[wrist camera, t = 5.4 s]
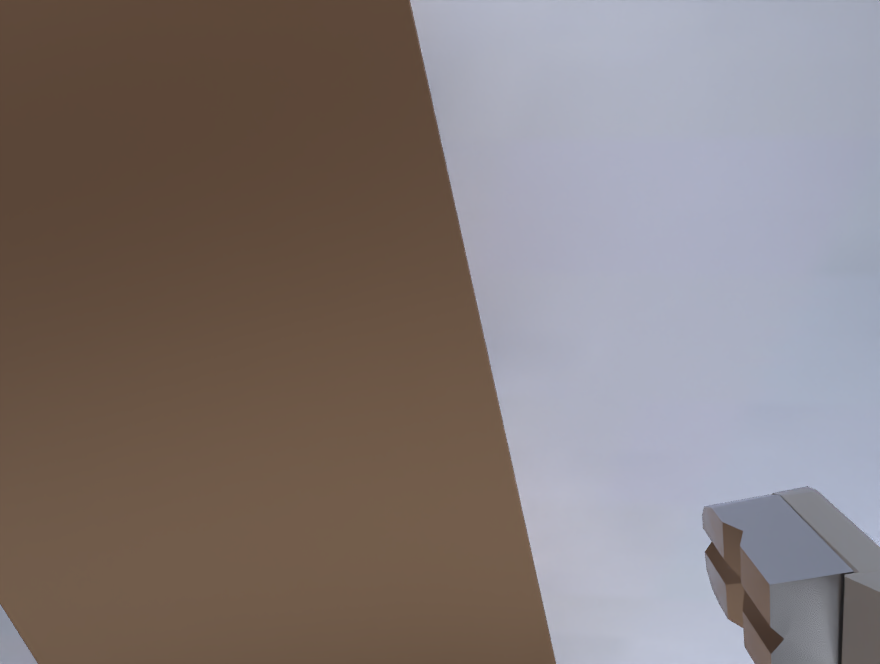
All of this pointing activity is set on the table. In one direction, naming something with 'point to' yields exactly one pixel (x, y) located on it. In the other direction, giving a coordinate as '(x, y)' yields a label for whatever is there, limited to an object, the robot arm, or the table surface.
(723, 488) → the table surface
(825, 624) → the robot arm
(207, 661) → the door
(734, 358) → the table surface
